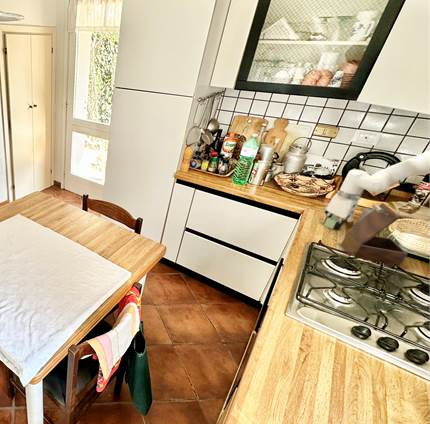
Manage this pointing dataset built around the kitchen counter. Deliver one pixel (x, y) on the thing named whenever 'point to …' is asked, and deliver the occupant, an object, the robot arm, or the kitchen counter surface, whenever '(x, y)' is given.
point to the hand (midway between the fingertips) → (331, 226)
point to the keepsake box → (375, 250)
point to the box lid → (373, 223)
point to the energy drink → (364, 213)
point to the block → (331, 222)
